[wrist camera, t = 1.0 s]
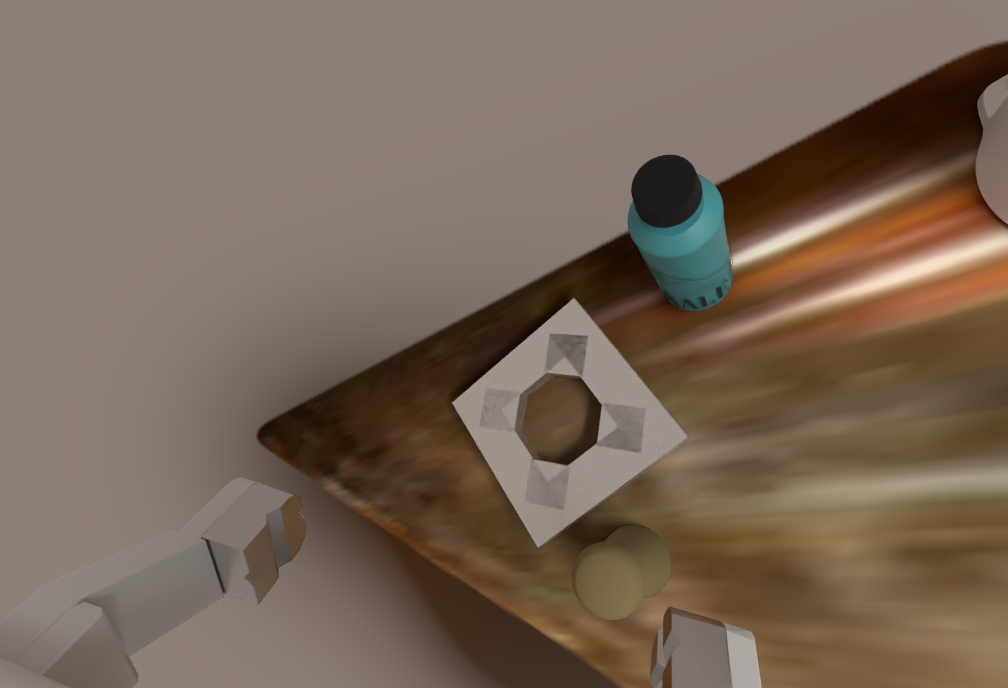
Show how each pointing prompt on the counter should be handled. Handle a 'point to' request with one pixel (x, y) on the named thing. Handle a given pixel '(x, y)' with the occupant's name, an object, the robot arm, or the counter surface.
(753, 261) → the counter surface
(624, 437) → the jig plate
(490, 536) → the counter surface
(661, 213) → the beverage bottle
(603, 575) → the olive peg doll
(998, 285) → the counter surface
